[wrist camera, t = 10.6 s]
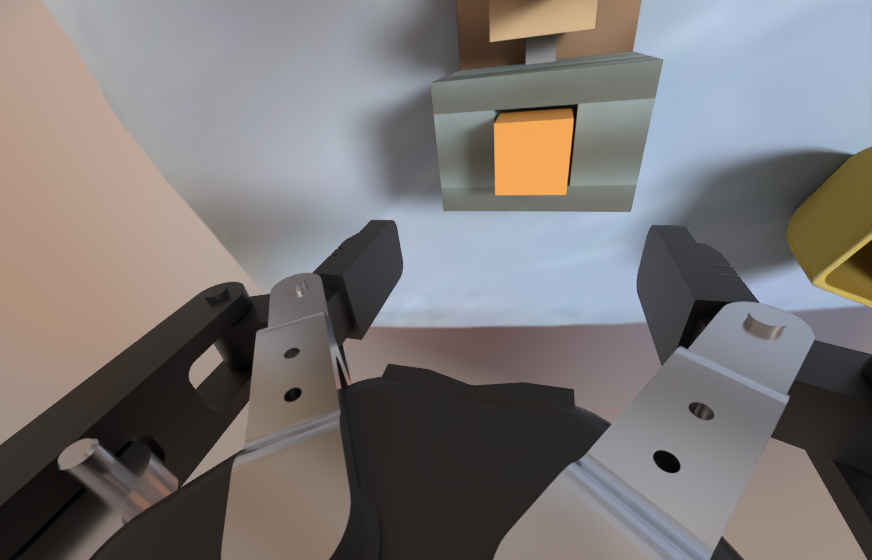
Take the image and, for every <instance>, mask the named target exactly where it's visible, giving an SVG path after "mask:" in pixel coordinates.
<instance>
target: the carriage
mask: <svg viewBox="0 0 872 560" xmlns="http://www.w3.org/2000/svg"><path fill="white" fill-rule="evenodd" d="M597 5H598V0H489V26H490V42H494V41H502V40H510V39H518V38H525V37H533V36H541V35H549V34H556V33H564V32H572V31H580V30H587V29H595V22H596V13H597Z"/></svg>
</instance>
